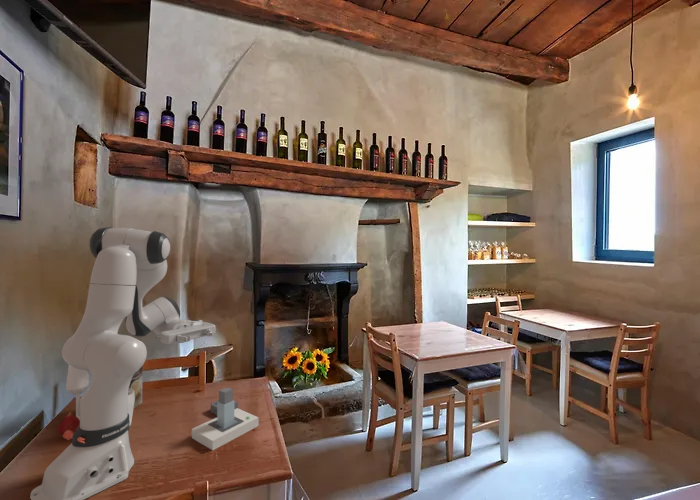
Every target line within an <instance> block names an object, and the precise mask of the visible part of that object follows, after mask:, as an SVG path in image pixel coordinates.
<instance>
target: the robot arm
mask: <svg viewBox="0 0 700 500" xmlns="http://www.w3.org/2000/svg"><path fill="white" fill-rule="evenodd" d="M89 239H90V240H89V250H90V252H91V255H93V257H94V258H95V260H94V264H93V268H92V271H91V275H90V281H89V286H88V293H87V300H86V306H85V310H84V313H83V316H82V319H81V321H80V323H79V325H78V327H77V329H76V330H75V332H74V334H72V335H71V336H70V337H69V338H68V339H67V340H66V341H65V342H64V344H63V346H62V349H61V357H62V359H63V360H64V362H65V363H66V364H67V365H68V366H69V365H71V366H72V367H74V368H76V369H79V370H84V371H88V373H91V381H90V384H89V386H88V387H89V388H88V389H86V390H85V391H84V392H83V393H82V395H80V425H79V426H78V428H77V430H76V432H75V433H74V432H72V431H71V430H67V431H66V432H65V433H64V434H63V436H62V438H64V439H66V440H67V441H70V440H71V443H70V444H69V445H68V446H67V447H66V448H65V449H64V450H63V451H62V452H61V453H60V454H59V455H58V456H57V457H56V458H55V459H53V461H51V463H49V465H48V466H47V468H46V469H45V471H44V474H43V477H42V482H41V484H40V485H38V486H36V487H35V488H33V489H32V490H31V492H30V497H29V500H30V499H31V500H86V499H87V498H91V497H92V496H94V495H96V494H98V493H100V492H103V491H105V490H106V489H109V488H110V487H112V486H114V485H117V484H118V483H121V482H123V481H125V480H127V478H128V477H129V473H130V470H131V468H132V467H133V466H134V464H135V458H134V455H133V453H132V450H131V444H130V439H129V432H130V427H131V425H130V421H129V414H128V390H129V385H130V382H131V379H132V377H133V375H134V373H135V372H137V371H138V370H139V369H140V368H141V367H142V365H144V364H145V362H146V359H147V355H148V353H147V352H148V349H147V346H146V344H145V343H144V342H143V341H141V340H139V339H137V338H136V337H139V338H142V337H146V336H147V335H149V334H150V333H151V332H152V331H153V333H155V334H156V336H155V339H157V340H160V343H162V344H164V345H168V346H169V345H174V344H178V343H179V344H182V343H183V344H184V343H187V342H191V340H195V339H200V338H203V337H213V336H214V335H216V332H217V331H216V330H217V329H216V325H215V324H213V323H210V322H207V321H203V320H202V319H194V320H193V319H192V320H191V319H190V320H189V319H181V310H180V307H179V306H178V304H177V302H176V301H175V300H173V298H169V297H167V296H160V297H158V298H156V299H154V300H153V301H151V302H150V303H148V304H146V305H145V306H144V305H143V300H144V297H146V294H147V293H148V292H149V291H150V290H151V289H153V287H155V286H156V285H157V284H158V283H160V282H161V281H162V280H163V279H164V278H165V277H166V274H167V271H168V261H167V259H168V257H169V255H170V251H171V244H170V243H171V241H170V238H169V237H168V236H167V235H166V234H165V233H163V232H160V231H156V230H155V231H154V230H152V231H150V230H145V229H138V228H137V229H136V228H133V227H131V228H130V227H111V226H109V227H108V226H107V227H100V228H98V229H96V230H95V231H94V232H93V233H92V234H91V236H90V238H89ZM124 320H125V321H124ZM123 321H124V325H125V327H126V330H127V332H128V333H129V334H130V335H126V334H119V333H118V332H119V329H120V326H121V324H122V322H123ZM133 336H134V337H133ZM35 495H36V496H35Z"/></svg>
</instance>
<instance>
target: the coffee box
mask: <svg viewBox="0 0 700 500" xmlns="http://www.w3.org/2000/svg"><path fill="white" fill-rule="evenodd" d="M143 365H144V364H143ZM143 365H142V367H141V368H140V369H139V370H138V371H137V372H135V373H134V375H133V377H132V379H131V382H130V385H129V388H132V389H134V392H135V402H134V408H133V410H134V409H135V408H137V407H138V405H139V406H140V405H142V404H143V367H144V366H143Z"/></svg>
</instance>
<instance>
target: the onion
mask: <svg viewBox="0 0 700 500" xmlns="http://www.w3.org/2000/svg"><path fill="white" fill-rule="evenodd" d="M79 425H80V420H79V418H78V417H76V415H74V414H72V412H68V414H66V415H65V416H64V417H63V418H62V419H61V420H60V421H59V423H58V425H57V433H58V434H59V435H61V437H63V434H64V433H65V432H66V431H67V430H71V431H72V432H74V433H75V432H76V430H77V428H78V426H79Z"/></svg>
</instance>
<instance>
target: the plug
mask: <svg viewBox="0 0 700 500" xmlns="http://www.w3.org/2000/svg"><path fill="white" fill-rule="evenodd" d="M233 396H234V389H232V388H230V387H225V388H221V389H220V390H218V400H219V402H217V415H216V416H217V417H216V418H217V426H219V427H221V428H223V429H225V428H227V427H229V426H231V425H233V424H234V403H235V400H234V397H233Z"/></svg>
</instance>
